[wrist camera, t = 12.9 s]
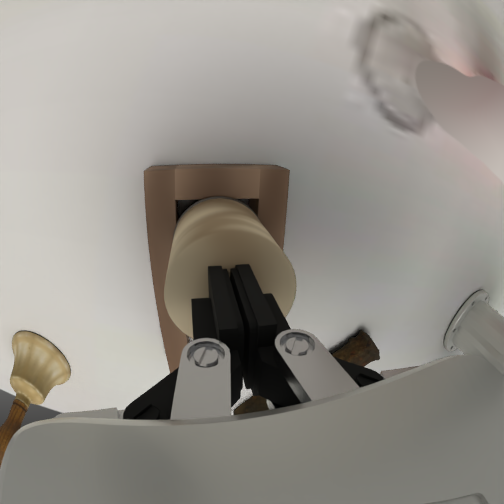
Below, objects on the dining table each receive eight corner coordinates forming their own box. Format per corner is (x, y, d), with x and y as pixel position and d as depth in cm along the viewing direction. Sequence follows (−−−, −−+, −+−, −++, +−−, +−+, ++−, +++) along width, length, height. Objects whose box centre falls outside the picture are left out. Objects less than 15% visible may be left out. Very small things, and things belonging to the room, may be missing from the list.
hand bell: (35, 381, 23) (6, 482, 8) (2, 331, 19) (-50, 436, 5) (82, 382, 24) (61, 502, 10) (48, 328, 20) (-5, 461, 6)
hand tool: (361, 322, 28) (382, 347, 24) (368, 341, 30) (386, 365, 26) (221, 399, 29) (226, 430, 25) (238, 412, 31) (244, 440, 27)
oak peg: (254, 186, 20) (304, 230, 11) (250, 257, 22) (289, 340, 13) (175, 187, 18) (155, 234, 10) (178, 260, 21) (171, 350, 12)
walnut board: (276, 165, 19) (289, 169, 17) (261, 351, 26) (268, 373, 24) (151, 166, 17) (143, 170, 15) (172, 358, 25) (172, 381, 22)
